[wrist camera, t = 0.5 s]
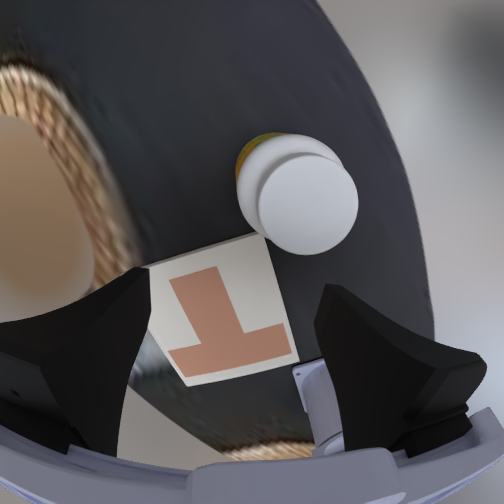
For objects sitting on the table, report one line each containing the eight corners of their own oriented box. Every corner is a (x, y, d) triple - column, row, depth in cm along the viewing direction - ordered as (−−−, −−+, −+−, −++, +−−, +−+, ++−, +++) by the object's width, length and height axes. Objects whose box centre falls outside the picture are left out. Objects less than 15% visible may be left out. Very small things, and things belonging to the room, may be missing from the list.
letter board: (298, 357, 27) (299, 361, 26) (187, 382, 27) (187, 386, 27) (261, 229, 21) (262, 232, 20) (121, 273, 22) (118, 277, 21)
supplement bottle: (279, 117, 18) (324, 107, 9) (325, 176, 20) (394, 217, 11) (218, 165, 19) (207, 199, 10) (267, 221, 21) (295, 294, 12)
